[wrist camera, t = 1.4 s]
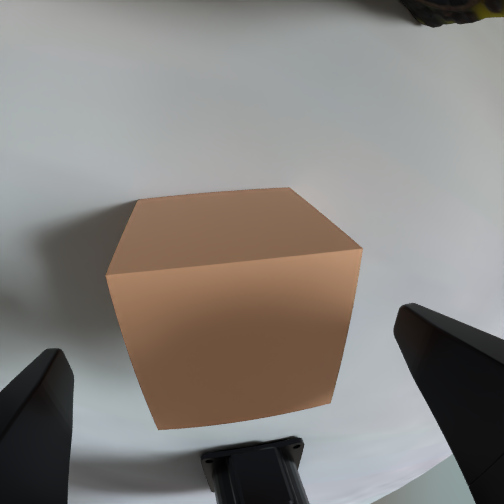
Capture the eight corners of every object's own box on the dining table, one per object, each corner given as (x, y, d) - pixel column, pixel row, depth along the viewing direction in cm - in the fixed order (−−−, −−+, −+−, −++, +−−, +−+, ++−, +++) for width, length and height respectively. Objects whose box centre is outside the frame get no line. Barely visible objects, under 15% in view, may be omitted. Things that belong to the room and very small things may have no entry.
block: (283, 308, 13) (330, 403, 8) (159, 323, 12) (158, 429, 8) (288, 187, 11) (362, 248, 6) (138, 199, 10) (105, 275, 5)
